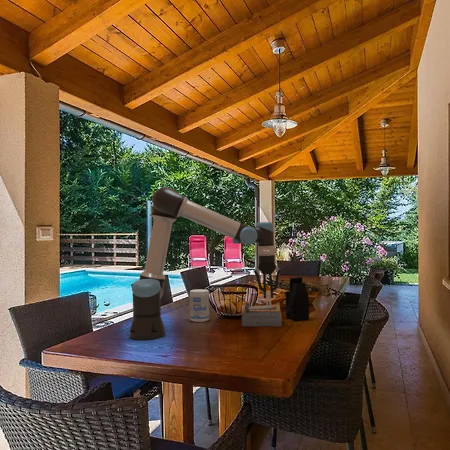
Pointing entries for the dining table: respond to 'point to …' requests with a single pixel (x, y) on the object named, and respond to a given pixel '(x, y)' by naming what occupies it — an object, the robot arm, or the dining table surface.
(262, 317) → the heatsink block
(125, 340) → the dining table surface
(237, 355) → the dining table surface
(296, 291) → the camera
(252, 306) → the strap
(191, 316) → the supplement tub
